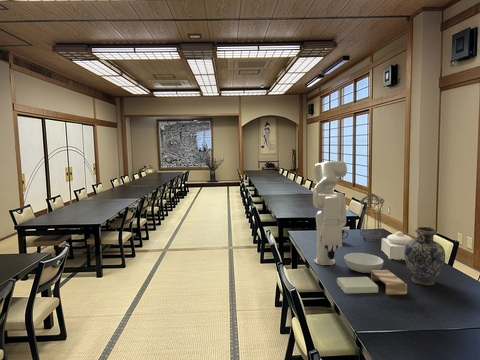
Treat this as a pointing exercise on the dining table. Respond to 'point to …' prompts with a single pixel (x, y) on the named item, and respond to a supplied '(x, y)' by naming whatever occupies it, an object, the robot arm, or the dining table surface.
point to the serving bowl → (363, 262)
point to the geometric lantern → (373, 213)
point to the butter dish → (395, 245)
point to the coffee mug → (343, 233)
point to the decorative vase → (424, 256)
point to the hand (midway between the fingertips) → (330, 258)
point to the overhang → (389, 281)
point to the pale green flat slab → (357, 285)
